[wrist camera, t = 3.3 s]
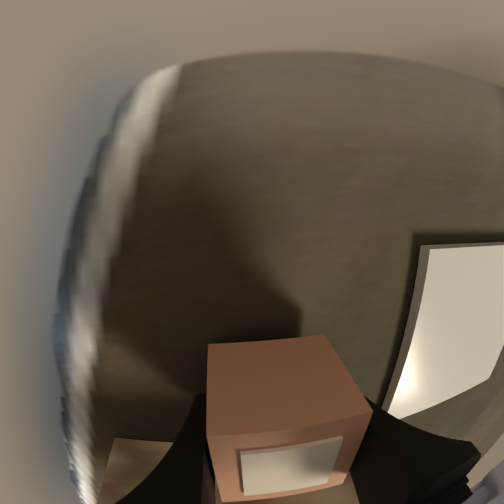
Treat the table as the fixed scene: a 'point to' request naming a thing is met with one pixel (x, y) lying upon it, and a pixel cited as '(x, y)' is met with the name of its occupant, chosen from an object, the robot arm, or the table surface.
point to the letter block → (281, 417)
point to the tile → (449, 326)
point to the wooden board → (151, 453)
